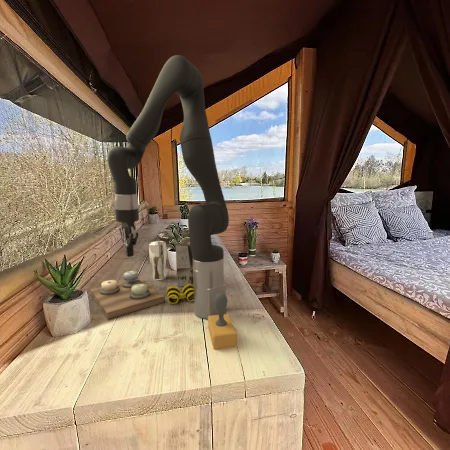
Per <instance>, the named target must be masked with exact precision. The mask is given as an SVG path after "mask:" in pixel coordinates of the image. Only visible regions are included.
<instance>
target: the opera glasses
mask: <svg viewBox="0 0 450 450" xmlns="http://www.w3.org/2000/svg"><path fill="white" fill-rule="evenodd" d="M165 292H166V295H167V302H168V303H169V304H170V305H176V304H178V302H179V300H180V299H184V298H185V299H187V301H188V302H194V285H192V284H188V285H186V286H185V287H184V286H183V288H182V290H181V289H180V288H179V287H178V286H174V285H173V286H169V287H168V288H166V291H165Z"/></svg>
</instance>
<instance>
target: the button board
mask: <svg viewBox="0 0 450 450" xmlns="http://www.w3.org/2000/svg"><path fill="white" fill-rule="evenodd" d="M136 284H146V285H147V293H145V294H143V295H133V294H132V289H131V287H132V286H133V285H136ZM90 295H91V296H92V298H93V299H94V301H95V302H96V304H97V306H98V307H99V309H100V310H101V311H102V313H103V315H104V316H105V318H106V319H107V320H110V319H113V318H116V317H119V316H123V315H126V314H130V313H133V312H136V311H139V310H143V309H145V308H146V309H147V308H149V307H150V308H151V307H152V306H155V305H159V304H162V303H163V304H164V303H165V296H164V295H163V294H162V293H160V292H159V291H158V290H157V289H156V288H154V287H152V286H151V285H150V284H149V283H148V282H146V281H145V280H144V279H143V278H141V277H138V279H136V280H132V281H126V280H124V281H120V282H117V288H116V289H114V290H111V291H103V290H102V286H99V287H95V288H91V289H90Z"/></svg>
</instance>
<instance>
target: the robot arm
mask: <svg viewBox="0 0 450 450" xmlns="http://www.w3.org/2000/svg"><path fill="white" fill-rule="evenodd" d="M164 63H165V64H163V67H162V69H161V71H160V72H159V74H158V77H157V79H156V81H155V83H154V86H153V87H152V90H151V92H150V94H149V95H148V98H147V100H146V102H145V104H144V106H143V108H142V110H141V112H140V113H139V115H138V116H137V118H136V120H134V122H133V124H132V126H131V127H129V129H128V131H127V133H126V135H125V138H126V141H127V142H128V144H127V146H118V145H116V146H112V147H111V148H110V149H109V150H108V152H107V164H108V168H109V171H110V174H111V177H112V181H113V182H114V208H115V209H114V210H115V211H114V212H115V220H116V222H117V223H120V225H121V226H120V227H119V229H118V230H119V234H120V236H121V240H122V243H123V244H124V246H125V256H126V257H128V258H131V257H134V255H135V253H134V251H135V250H134V246H136V244H137V242H138V238H139V232H136V230H137V227H136V226H135V222H138V221H139V220H140V214H139V213H140V212H139V199H138V192H137V191H138V189H137V187H138V186H137V180H136V178H135V177H133V176H131V175H130V173H129V170H131V169H135V168H136V167H137V166H139V164H140V163H141V161H142V158H143V157H144V154H145V152H146V148H147V147H148V145H149V144H150V143H151V142H152V140H153V139H154V137H155V136H156V134H157V133H158V132H159V130H160V128H161V127H160V126H161V122H162V118H163V114H164V113H163V112H164V109H165V107H166V105H167V103H168V102H169V100H170V99H171V97H172V96H173V95H174V94H176V95H178V97H179V98H180V101H181V106H182V111H183V122H182V126H181V130H180V133H179V134H180V135H179V136H180V137H179V145H180V150H181V154H182V160H183V162H184V165H185V166H186V169H187V170H188V171H189V173H190V174H191V176H192V177H193V179H195V181H196V182H197V183H198V185H199V187H200V189H201V190H202V194H203V198H204V201H205V203H201V204H195V205H193V206H192V207H191V208H190V210H189V211H188V212H189V213H188V215H187V224H188V225H187V226H188V233H189V234H188V236H189V241H190V248H191V251H192V255H193V284H194V285H193V286H194V301H193V303H194V305H193V309H194V314H195V316H196V317H198V318H201V319H204V320H205V319H207V320H208V317H209V316H212V315H218V312H217V310H216V308H215V305H214V299H215V296H216V295H217V294H218V293H224V294H225V295H226V296H227V285H226V284H225V268H224V267H225V265H224V264H225V263H224V262H225V257H224V255H225V254H224V252H225V251H224V248H223V247H222V246H219V245H217V244H213V242H212V237H211V236H213V235H217V234H223V233H225V232H226V231H227V229H228V228H229V224H230V223H229V221H230V217H229V211H228V207H227V204H226V203H227V202H226V201H225V197H224V193H223V190H222V187H221V183H220V179H219V173H218V169H217V163H216V160H215V159H216V158H215V152H214V147H213V146H214V145H213V142H212V136H211V132H210V126H209V120H208V117H207V111H206V104H205V103H206V101H205V94H204V93H205V91H204V81H203V76H202V74H201V72H200V71H199V69H198V68H197V67H196V66H195V65H194V64H193V63H192V62H191V61H189V60H188V59H187V58H186V57H185V56H183V55H180V54H176V55H173V56H171V57H169V58H168V59H167V60H166V62H164ZM224 314H227V309H226V310H225V312H224Z"/></svg>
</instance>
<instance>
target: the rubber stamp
mask: <svg viewBox="0 0 450 450" xmlns="http://www.w3.org/2000/svg"><path fill="white" fill-rule="evenodd" d="M214 305H215V308H216V310H217V312H218V315H212V316H209V317H208V319H207V325H208V327H207V328H208V332H209V336H210V340H211V345H212V348H213V349H214V350H220V349H228V348H236V347H237V345H238V344H237V343H238V342H237V341H238V340H237V338H238V337H237V331H236V329H235V326H234V324H233V321H232V319H231V316H230V315H229V314H228V313H226V314H224V312H225V310H226V311H227V307H228V296H227V294H226V295H225V294H224V293H218V294H217V295H216V296H215V299H214Z"/></svg>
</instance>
